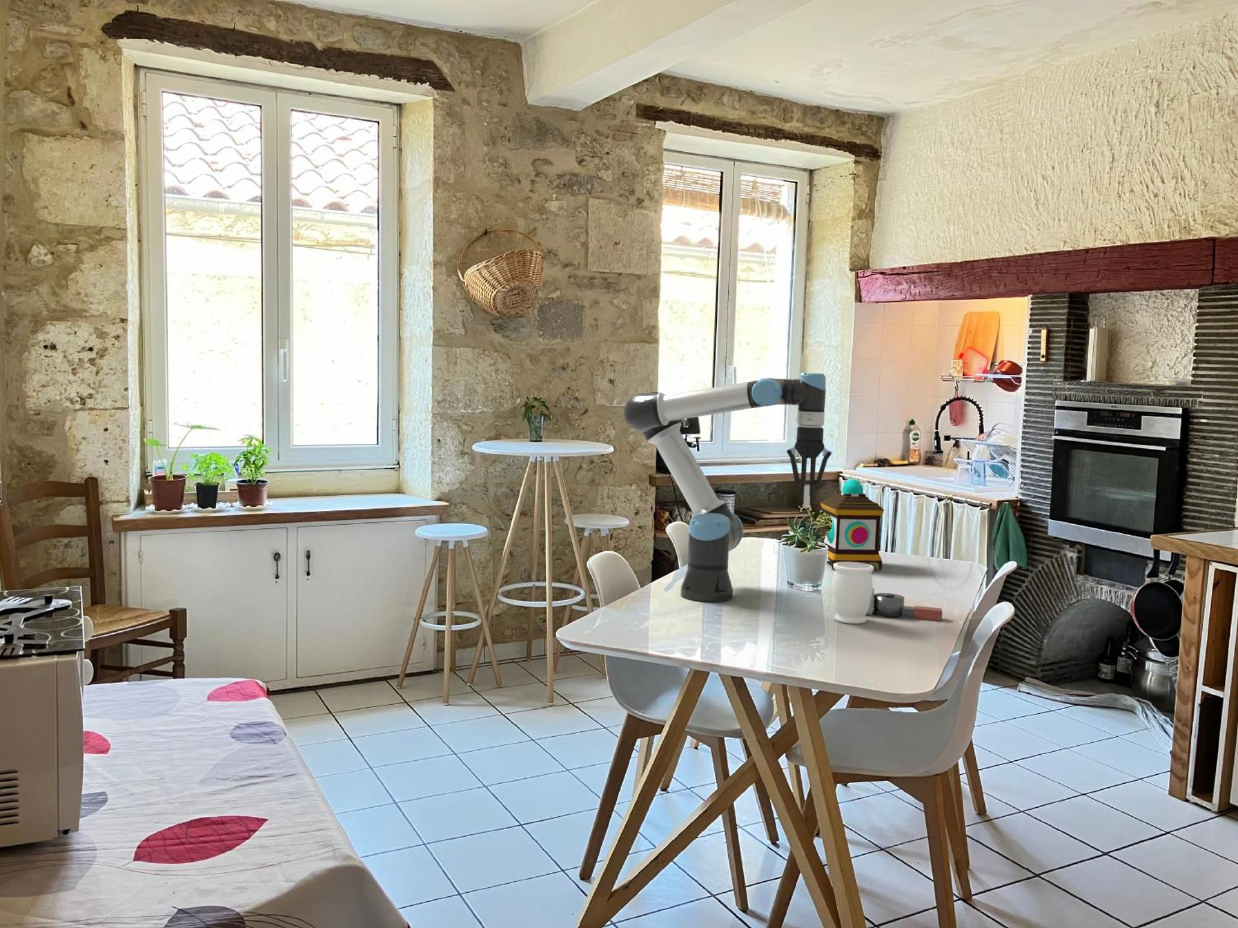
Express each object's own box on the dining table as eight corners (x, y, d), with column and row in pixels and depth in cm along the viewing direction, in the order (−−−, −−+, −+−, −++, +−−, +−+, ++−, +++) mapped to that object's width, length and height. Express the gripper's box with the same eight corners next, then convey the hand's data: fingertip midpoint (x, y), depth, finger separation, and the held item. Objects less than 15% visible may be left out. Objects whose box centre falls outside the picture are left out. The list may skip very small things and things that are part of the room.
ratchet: (857, 614, 270) (858, 594, 269) (859, 608, 277) (860, 588, 277) (941, 623, 263) (943, 602, 263) (941, 616, 271) (942, 596, 270)
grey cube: (848, 612, 272) (849, 590, 271) (850, 607, 277) (851, 586, 277) (872, 614, 270) (873, 593, 269) (873, 609, 275) (874, 588, 275)
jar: (847, 626, 256) (850, 570, 255) (822, 617, 265) (825, 562, 264) (879, 623, 261) (882, 567, 260) (852, 613, 270) (855, 560, 269)
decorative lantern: (811, 559, 347) (815, 474, 344) (865, 560, 350) (870, 476, 347) (829, 571, 328) (834, 481, 325) (887, 571, 330) (892, 482, 327)
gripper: (786, 426, 284) (782, 507, 286) (832, 428, 280) (827, 510, 282) (789, 424, 291) (785, 504, 293) (834, 426, 287) (830, 507, 289)
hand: (806, 507), depth 287 cm, fingers closed
